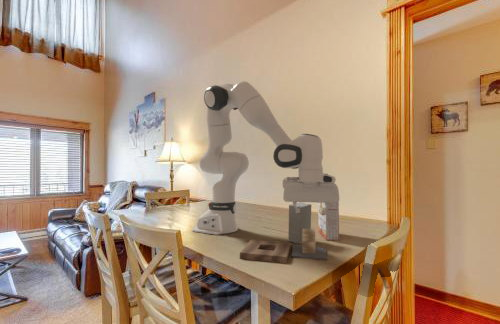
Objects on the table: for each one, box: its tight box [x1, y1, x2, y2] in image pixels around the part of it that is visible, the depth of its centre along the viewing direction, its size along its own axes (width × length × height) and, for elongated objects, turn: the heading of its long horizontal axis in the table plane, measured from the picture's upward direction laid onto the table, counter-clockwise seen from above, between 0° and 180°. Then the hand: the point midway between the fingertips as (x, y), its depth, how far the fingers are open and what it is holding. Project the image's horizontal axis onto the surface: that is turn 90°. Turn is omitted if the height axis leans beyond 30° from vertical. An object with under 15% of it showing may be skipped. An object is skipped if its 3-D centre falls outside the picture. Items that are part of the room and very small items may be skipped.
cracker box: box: [317, 202, 340, 241], centre depth 114 cm, size 14×6×21 cm, turn 178°
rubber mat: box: [291, 244, 328, 261], centre depth 91 cm, size 12×12×1 cm
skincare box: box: [287, 202, 312, 245], centre depth 106 cm, size 8×7×16 cm
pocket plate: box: [239, 239, 292, 264], centre depth 91 cm, size 16×16×2 cm
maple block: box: [301, 228, 316, 254], centre depth 91 cm, size 4×4×8 cm
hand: (310, 214), depth 93 cm, fingers open, 8 cm apart
